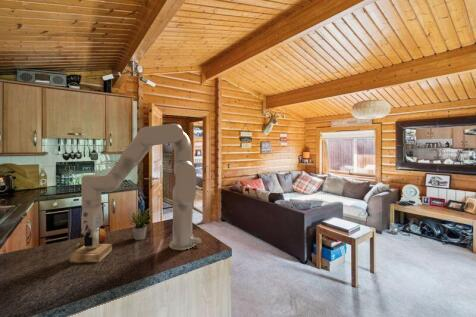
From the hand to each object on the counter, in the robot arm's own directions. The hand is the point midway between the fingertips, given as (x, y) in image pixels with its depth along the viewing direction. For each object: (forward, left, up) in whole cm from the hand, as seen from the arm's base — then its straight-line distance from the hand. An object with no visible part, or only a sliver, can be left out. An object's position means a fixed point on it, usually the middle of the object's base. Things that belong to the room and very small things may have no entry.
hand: (92, 242), depth 110 cm
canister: (0, 0, -1) cm, 1 cm away
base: (0, 0, -6) cm, 6 cm away
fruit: (+5, -15, -6) cm, 17 cm away
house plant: (-15, -22, -6) cm, 27 cm away
